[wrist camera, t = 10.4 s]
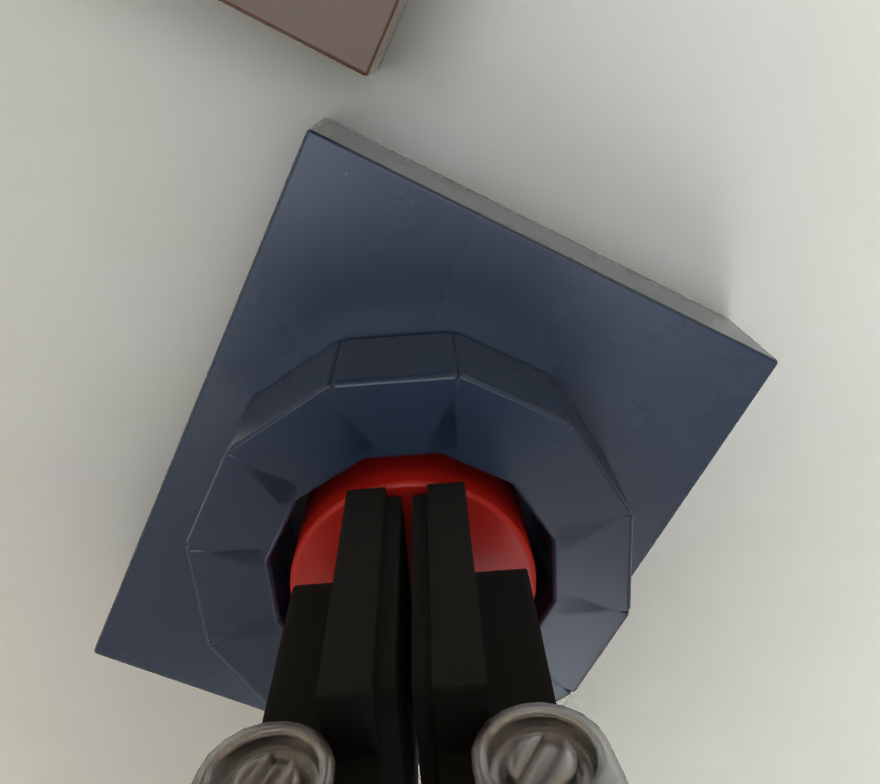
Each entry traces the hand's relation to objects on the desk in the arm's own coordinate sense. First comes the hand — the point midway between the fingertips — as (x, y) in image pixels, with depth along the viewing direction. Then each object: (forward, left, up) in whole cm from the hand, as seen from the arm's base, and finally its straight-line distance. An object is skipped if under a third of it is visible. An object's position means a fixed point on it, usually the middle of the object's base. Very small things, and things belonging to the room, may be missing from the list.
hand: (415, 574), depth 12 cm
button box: (0, 0, -4) cm, 4 cm away
